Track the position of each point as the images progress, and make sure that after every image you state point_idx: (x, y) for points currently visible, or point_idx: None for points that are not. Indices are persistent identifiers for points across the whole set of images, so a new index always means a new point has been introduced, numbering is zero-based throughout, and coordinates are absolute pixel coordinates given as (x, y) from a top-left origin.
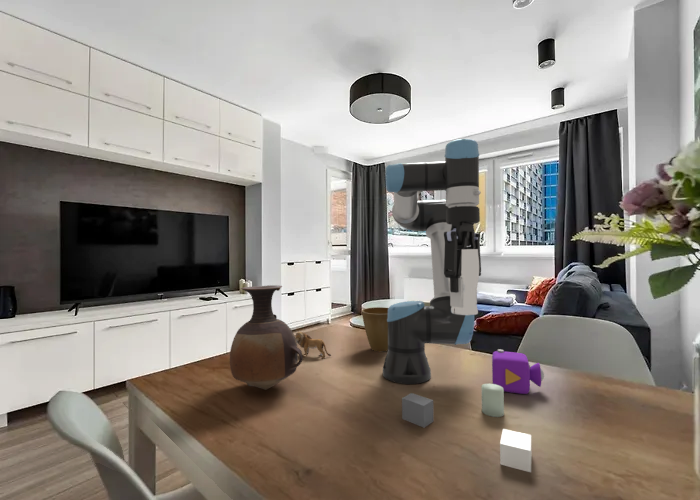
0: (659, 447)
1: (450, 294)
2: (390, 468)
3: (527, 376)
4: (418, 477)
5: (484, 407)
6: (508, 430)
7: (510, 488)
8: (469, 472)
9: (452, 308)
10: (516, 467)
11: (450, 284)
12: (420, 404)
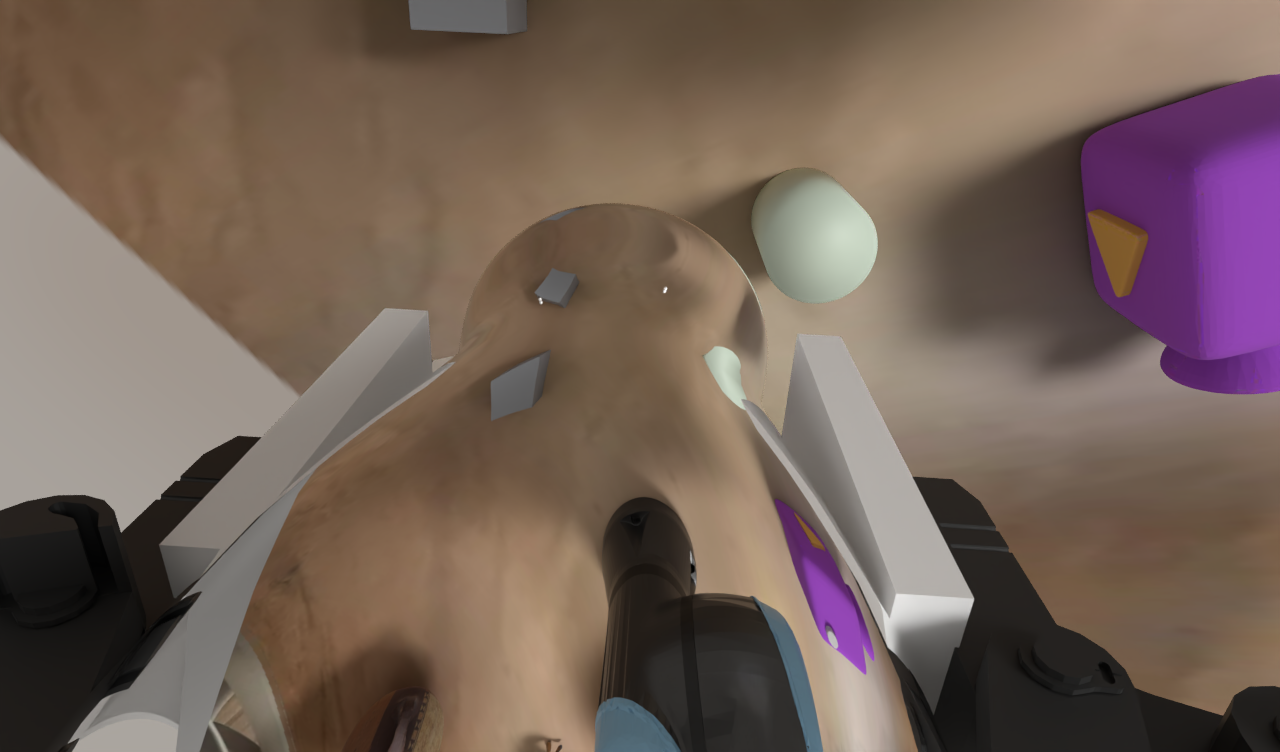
0: None
1: (318, 381)
2: (112, 86)
3: (1143, 329)
4: (164, 191)
5: (761, 201)
6: None
7: None
8: (319, 303)
9: (488, 279)
10: None
11: (148, 514)
12: (409, 5)
